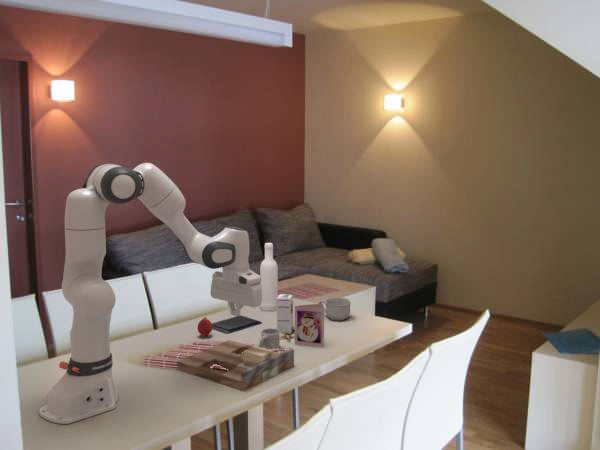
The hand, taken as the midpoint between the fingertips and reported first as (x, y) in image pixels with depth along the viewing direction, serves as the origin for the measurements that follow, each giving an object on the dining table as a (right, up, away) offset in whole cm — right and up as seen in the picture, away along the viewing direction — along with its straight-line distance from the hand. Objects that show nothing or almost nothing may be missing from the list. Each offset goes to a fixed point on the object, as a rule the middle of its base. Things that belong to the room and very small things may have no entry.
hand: (235, 315), depth 213 cm
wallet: (-6, -12, +50) cm, 52 cm away
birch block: (+8, -16, -2) cm, 18 cm away
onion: (-15, -14, +35) cm, 41 cm away
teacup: (+37, -10, +59) cm, 70 cm away
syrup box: (+16, -13, +42) cm, 47 cm away
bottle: (+8, -8, +72) cm, 73 cm away
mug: (+10, -16, +21) cm, 28 cm away
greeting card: (+26, -15, +27) cm, 41 cm away
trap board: (0, -18, +3) cm, 19 cm away
